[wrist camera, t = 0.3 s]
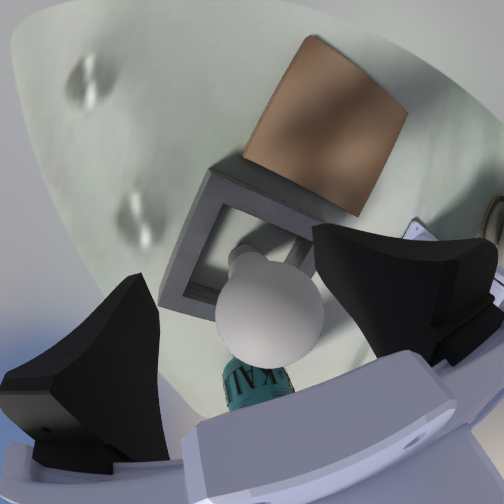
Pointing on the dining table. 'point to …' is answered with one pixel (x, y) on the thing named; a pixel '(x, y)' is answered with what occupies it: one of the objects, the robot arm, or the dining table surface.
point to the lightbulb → (267, 310)
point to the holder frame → (199, 226)
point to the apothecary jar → (495, 226)
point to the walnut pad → (327, 127)
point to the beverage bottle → (253, 384)
